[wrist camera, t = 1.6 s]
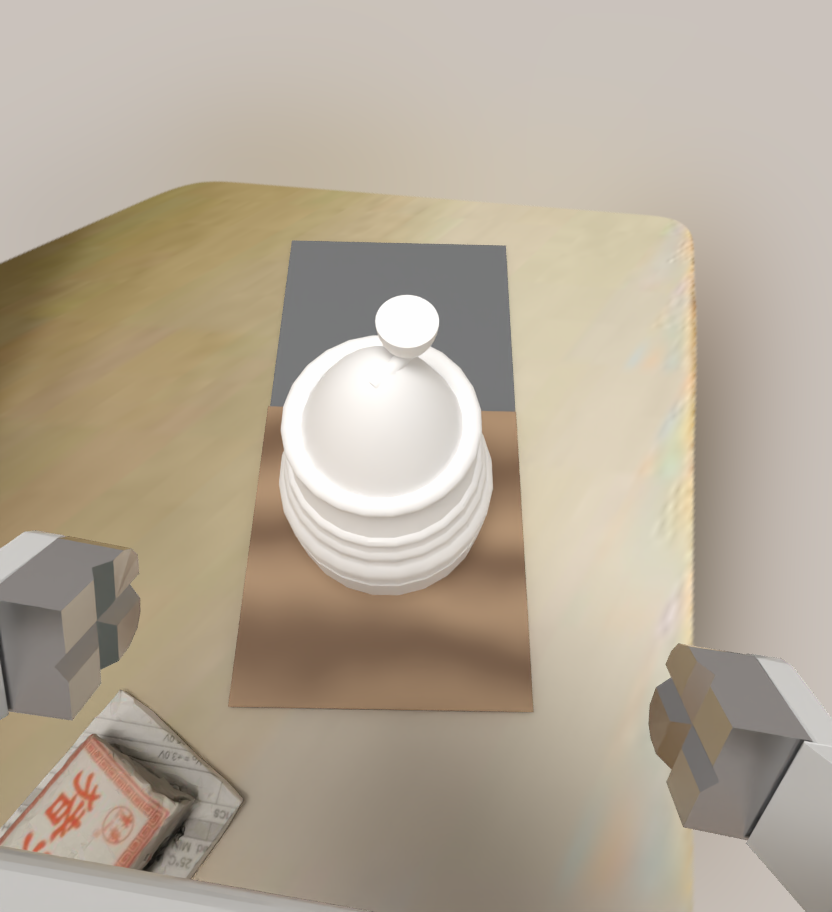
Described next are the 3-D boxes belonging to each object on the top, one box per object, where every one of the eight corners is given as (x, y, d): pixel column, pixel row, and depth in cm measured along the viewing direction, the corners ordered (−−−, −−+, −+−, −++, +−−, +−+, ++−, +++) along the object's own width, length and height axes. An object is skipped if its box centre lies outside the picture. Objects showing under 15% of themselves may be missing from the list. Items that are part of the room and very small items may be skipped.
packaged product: (-89, 1241, 23) (-230, 1046, 25) (-7, 1154, 27) (-133, 995, 30) (227, 810, 29) (90, 684, 31) (252, 796, 33) (130, 687, 35)
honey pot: (376, 383, 43) (357, 182, 26) (520, 485, 40) (601, 331, 23) (253, 514, 39) (139, 375, 22) (403, 638, 36) (402, 585, 19)
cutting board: (531, 711, 35) (533, 712, 34) (230, 706, 35) (227, 706, 34) (514, 415, 43) (515, 411, 42) (269, 410, 43) (268, 406, 42)
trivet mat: (514, 415, 43) (515, 414, 43) (270, 410, 43) (269, 408, 42) (505, 247, 49) (505, 245, 49) (292, 242, 49) (292, 240, 49)
